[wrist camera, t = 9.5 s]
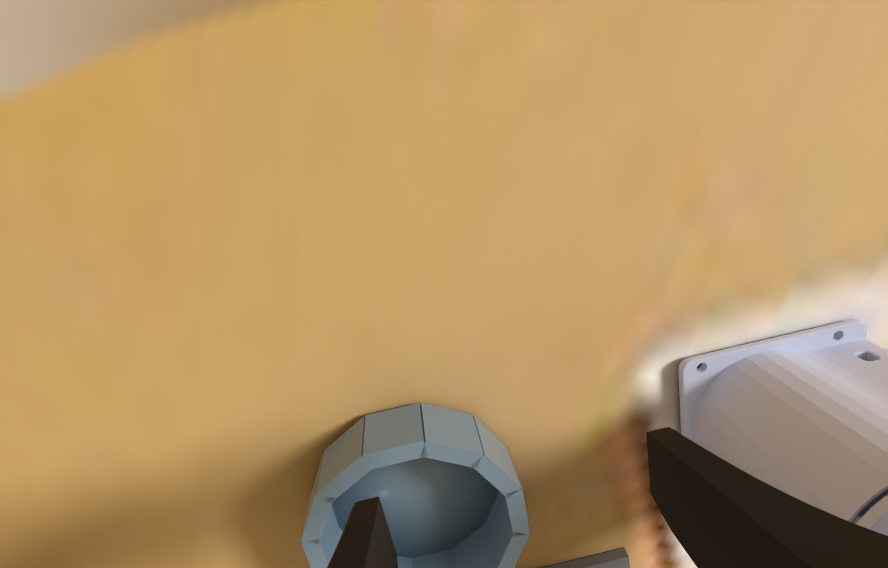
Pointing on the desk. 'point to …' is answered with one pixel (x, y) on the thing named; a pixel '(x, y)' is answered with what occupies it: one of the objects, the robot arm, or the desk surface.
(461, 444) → the bowl
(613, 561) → the mat
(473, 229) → the desk surface
